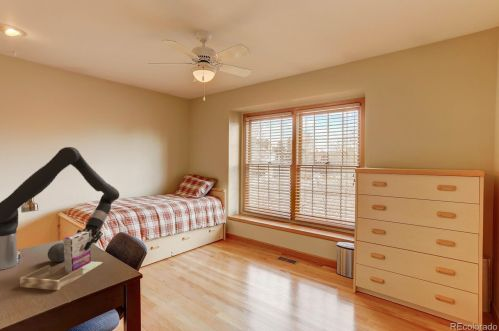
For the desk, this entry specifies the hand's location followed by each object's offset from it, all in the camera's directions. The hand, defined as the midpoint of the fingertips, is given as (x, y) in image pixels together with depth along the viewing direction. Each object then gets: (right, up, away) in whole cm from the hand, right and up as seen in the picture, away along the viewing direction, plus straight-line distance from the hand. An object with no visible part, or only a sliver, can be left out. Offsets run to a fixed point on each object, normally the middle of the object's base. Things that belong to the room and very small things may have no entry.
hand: (80, 249), depth 131 cm
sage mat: (0, -11, +4) cm, 12 cm away
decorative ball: (-19, -11, +12) cm, 25 cm away
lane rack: (-6, -11, -10) cm, 16 cm away
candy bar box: (0, -8, -1) cm, 9 cm away
